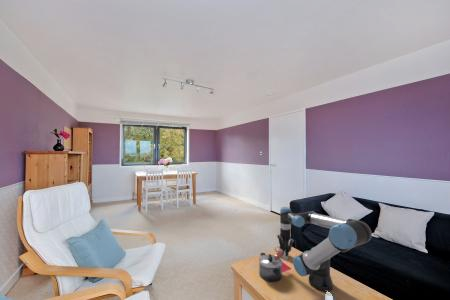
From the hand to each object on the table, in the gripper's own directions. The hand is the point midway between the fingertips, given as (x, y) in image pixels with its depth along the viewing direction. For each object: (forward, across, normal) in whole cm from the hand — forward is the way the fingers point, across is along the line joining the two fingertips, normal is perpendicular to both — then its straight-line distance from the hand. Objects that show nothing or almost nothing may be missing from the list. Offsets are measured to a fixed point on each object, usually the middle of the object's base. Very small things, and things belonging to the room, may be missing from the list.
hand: (285, 259), depth 150 cm
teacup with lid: (+10, +15, -19) cm, 26 cm away
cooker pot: (+10, +8, +10) cm, 16 cm away
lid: (0, +6, +8) cm, 10 cm away
